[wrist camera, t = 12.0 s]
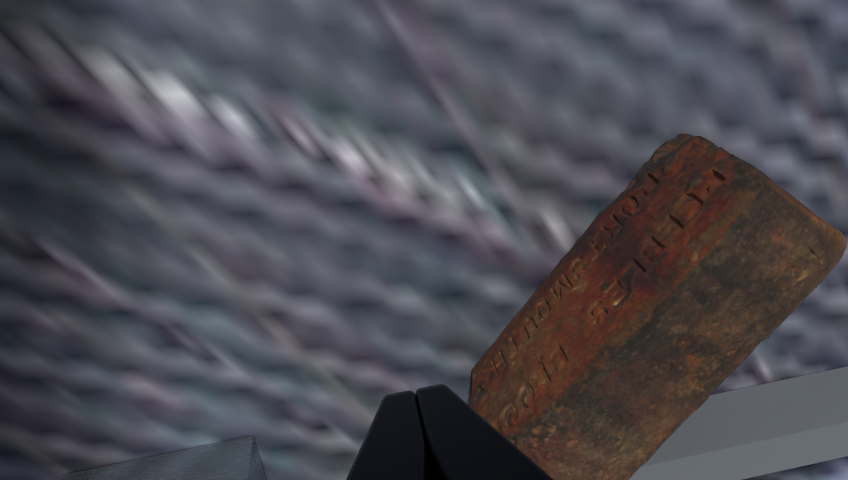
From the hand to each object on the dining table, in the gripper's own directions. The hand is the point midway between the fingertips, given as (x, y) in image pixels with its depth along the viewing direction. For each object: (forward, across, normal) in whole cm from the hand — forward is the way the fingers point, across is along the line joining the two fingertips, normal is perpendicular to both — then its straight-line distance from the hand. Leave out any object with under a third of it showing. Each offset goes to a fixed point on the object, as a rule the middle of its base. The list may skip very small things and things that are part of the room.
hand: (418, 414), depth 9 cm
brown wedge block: (+11, -7, +5) cm, 14 cm away
